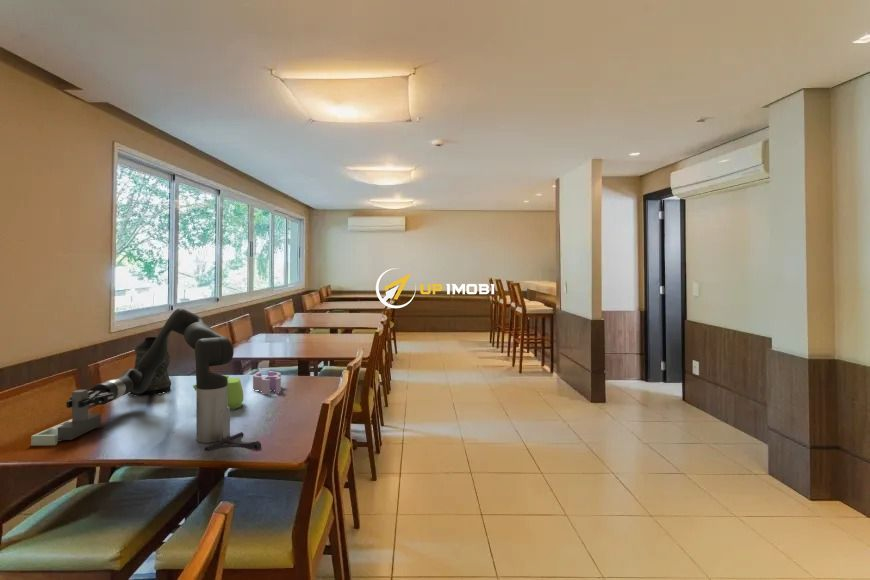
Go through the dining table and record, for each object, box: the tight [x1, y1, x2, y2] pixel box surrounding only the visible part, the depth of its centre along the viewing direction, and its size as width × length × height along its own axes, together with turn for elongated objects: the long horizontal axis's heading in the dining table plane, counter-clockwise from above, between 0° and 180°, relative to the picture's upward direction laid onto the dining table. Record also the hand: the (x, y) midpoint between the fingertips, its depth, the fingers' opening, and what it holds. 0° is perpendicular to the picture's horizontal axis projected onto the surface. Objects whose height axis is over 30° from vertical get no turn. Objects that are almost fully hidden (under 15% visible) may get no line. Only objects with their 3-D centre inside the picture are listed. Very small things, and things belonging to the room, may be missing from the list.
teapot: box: [192, 374, 244, 411], centre depth 182 cm, size 18×20×13 cm
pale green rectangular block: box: [30, 420, 67, 446], centre depth 149 cm, size 7×19×3 cm, turn 4°
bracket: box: [204, 431, 262, 451], centre depth 142 cm, size 14×15×3 cm
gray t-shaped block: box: [58, 389, 102, 441], centre depth 149 cm, size 4×14×14 cm, turn 4°
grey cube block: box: [46, 424, 63, 442], centre depth 145 cm, size 4×4×4 cm
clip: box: [252, 370, 282, 395], centre depth 212 cm, size 20×12×7 cm, turn 32°
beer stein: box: [129, 336, 172, 397], centre depth 206 cm, size 16×19×25 cm
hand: (73, 404), depth 146 cm, fingers closed on gray t-shaped block, 3 cm apart
